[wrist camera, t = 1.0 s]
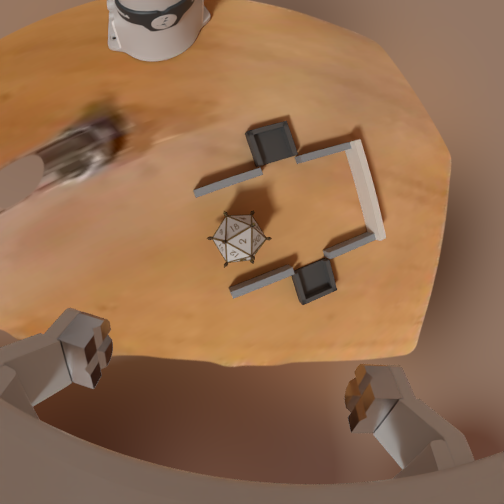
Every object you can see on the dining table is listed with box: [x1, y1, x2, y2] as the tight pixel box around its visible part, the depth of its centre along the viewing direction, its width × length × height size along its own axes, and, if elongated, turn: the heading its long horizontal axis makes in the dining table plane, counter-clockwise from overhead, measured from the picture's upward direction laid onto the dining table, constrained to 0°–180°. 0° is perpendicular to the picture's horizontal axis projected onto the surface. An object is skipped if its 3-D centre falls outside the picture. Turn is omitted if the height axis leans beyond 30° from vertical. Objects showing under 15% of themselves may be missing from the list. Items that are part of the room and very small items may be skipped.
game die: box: [207, 210, 272, 268], centre depth 47 cm, size 9×8×10 cm
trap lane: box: [193, 121, 386, 305], centre depth 50 cm, size 31×29×4 cm
